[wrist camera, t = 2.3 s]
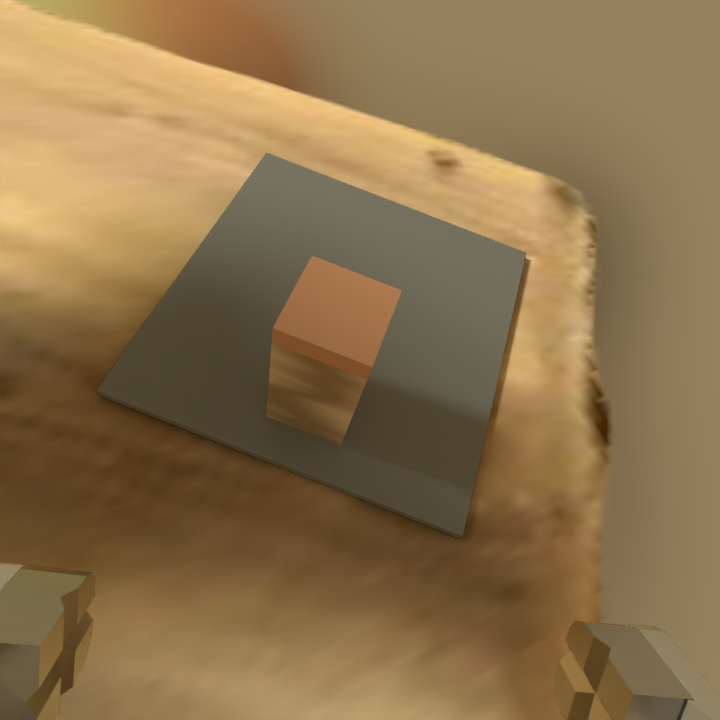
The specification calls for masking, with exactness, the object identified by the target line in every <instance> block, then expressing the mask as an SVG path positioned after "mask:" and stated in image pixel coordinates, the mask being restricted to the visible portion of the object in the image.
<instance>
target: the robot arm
mask: <svg viewBox="0 0 720 720" xmlns="http://www.w3.org/2000/svg"><path fill="white" fill-rule="evenodd" d="M94 593H95V577H94V575H93V574H92V573H89V572H80V571H72V570H64V569H56V568H47V567H39V566H31V565H27V566H25V565H20V564H11V563H1V562H0V720H56V718H57V716H58V714H59V703H60V695H62V694H63V693H65V692H66V691H67V690H69V689H70V688H72V687H73V686H74V684H75V682H76V680H77V678H78V676H79V674H80V672H81V670H82V667H83V664H84V661H85V658H86V655H87V652H88V649H89V644H90V639H91V634H92V623H93V620H92V618H91V617H90V615H89V614H88V613H87V611H86V609H87V608H88V606H89V604H90V603H91V601H92V599H93V597H94ZM566 642H567V644H568V646H569V649H570V652H569V653H567V654H566V655H565V656H564V657H563V658H562V659H561V660H559V662H558V666H557V670H556V674H555V696H556V699H557V703H558V707H559V710H560V712H561V714H562V716H563V718H564V720H720V695H719V694H718V693H717V692H716V691H715V689H714V688H713V687H712V686H711V685H710V684H709V682H708V681H707V680H706V679H705V678H704V677H703V676H702V674H701V673H700V672H699V671H698V670H697V669H696V668H695V666H694V665H693V664H692V663H691V662H690V660H689V659H688V658H687V657H686V656H685V655H684V653H683V652H682V651H681V650H680V649H679V648H678V647H677V646H676V644H675V643H674V642H673V641H672V640H671V638H670V637H669V636H668V635H667V634H666V633H665V632H664V631H662V630H661V629H659V628H657V627H655V626H641V625H628V626H627V625H616V624H606V623H595V622H584V621H575V622H574V623H573V624H572V625H571V627H570V628H569V631H568V634H567V637H566Z"/></svg>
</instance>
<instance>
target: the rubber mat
mask: <svg viewBox="0 0 720 720" xmlns="http://www.w3.org/2000/svg"><path fill="white" fill-rule="evenodd" d="M311 256H315V257H317V258H320V259H322V260H325V261H327V262H330V263H333V264H335V265H338V266H340V267H343V268H345V269H348V270H351V271H353V272H356V273H358V274H361V275H364V276H366V277H369V278H371V279H374V280H376V281H379V282H382V283H384V284H387V285H389V286H392V287H394V288H397V289H400V290H402V292H401V294H400V297H399V300H398V302H397V305H396V307H395V310H394V312H393V315H392V318H391V320H390V323H389V325H388V328H387V331H386V333H385V336H384V338H383V341H382V343H381V346H380V349H379V351H378V354H377V356H376V359H375V362H374V364H373V367H372V369H371V372H370V374H369V377H368V379H367V382H366V384H365V387H364V389H363V392H362V394H361V396H360V399H359V401H358V404H357V406H356V409H355V411H354V414H353V416H352V419H351V421H350V424H349V426H348V429H347V431H346V434H345V436H344V438H343V441H342V443H341V446H340V445H337V444H335V443H332V442H330V441H327V440H325V439H322V438H319V437H317V436H314V435H312V434H309V433H307V432H304V431H302V430H299V429H297V428H294V427H292V426H289V425H287V424H284V423H282V422H279V421H277V420H274V419H271V418H269V417H266V414H267V400H268V386H269V372H270V358H271V344H272V330H273V327H274V325H275V323H276V321H277V319H278V317H279V315H280V314H281V312H282V310H283V308H284V306H285V304H286V302H287V301H288V299H289V297H290V295H291V293H292V291H293V290H294V288H295V286H296V284H297V282H298V280H299V278H300V277H301V275H302V273H303V271H304V269H305V267H306V265H307V264H308V262H309V260H310V258H311ZM525 257H526V253H525V252H523V251H520V250H518V249H515V248H512V247H510V246H507V245H505V244H502V243H500V242H497V241H494V240H492V239H489V238H487V237H484V236H481V235H479V234H476V233H474V232H471V231H468V230H466V229H463V228H461V227H458V226H455V225H453V224H450V223H448V222H445V221H442V220H440V219H437V218H435V217H432V216H429V215H427V214H424V213H422V212H419V211H416V210H414V209H411V208H409V207H406V206H403V205H401V204H398V203H396V202H393V201H390V200H388V199H385V198H383V197H380V196H377V195H375V194H372V193H370V192H367V191H364V190H362V189H359V188H357V187H354V186H351V185H349V184H346V183H344V182H341V181H338V180H336V179H333V178H331V177H328V176H325V175H323V174H320V173H318V172H315V171H313V170H310V169H307V168H305V167H302V166H300V165H297V164H294V163H292V162H289V161H287V160H284V159H281V158H279V157H276V156H274V155H271V154H268V153H266V154H265V155H264V157H263V158H262V160H261V161H260V162H259V164H258V165H257V167H256V168H255V169H254V171H253V172H252V174H251V175H250V176H249V178H248V179H247V181H246V182H245V183H244V185H243V186H242V187H241V189H240V190H239V192H238V193H237V194H236V196H235V197H234V199H233V200H232V201H231V203H230V204H229V206H228V207H227V208H226V210H225V211H224V213H223V214H222V215H221V217H220V218H219V220H218V221H217V222H216V224H215V225H214V227H213V228H212V229H211V231H210V232H209V234H208V235H207V236H206V238H205V239H204V241H203V242H202V243H201V245H200V246H199V247H198V249H197V250H196V252H195V253H194V254H193V256H192V257H191V259H190V260H189V261H188V263H187V264H186V266H185V267H184V268H183V270H182V271H181V273H180V274H179V275H178V277H177V278H176V280H175V281H174V282H173V284H172V285H171V287H170V288H169V289H168V291H167V292H166V294H165V295H164V296H163V298H162V299H161V301H160V302H159V303H158V305H157V306H156V307H155V309H154V310H153V312H152V313H151V314H150V316H149V317H148V319H147V320H146V321H145V323H144V324H143V326H142V327H141V328H140V330H139V331H138V333H137V334H136V335H135V337H134V338H133V340H132V341H131V342H130V344H129V345H128V347H127V348H126V349H125V351H124V352H123V354H122V355H121V356H120V358H119V359H118V361H117V362H116V363H115V365H114V366H113V367H112V369H111V370H110V372H109V373H108V374H107V376H106V377H105V379H104V380H103V381H102V383H101V384H100V386H99V387H98V388H97V390H96V392H97V393H98V395H99V396H102V397H104V398H107V399H109V400H112V401H114V402H117V403H119V404H122V405H124V406H127V407H129V408H132V409H135V410H137V411H140V412H142V413H145V414H147V415H150V416H152V417H155V418H157V419H160V420H162V421H165V422H167V423H170V424H172V425H175V426H177V427H180V428H182V429H185V430H187V431H190V432H192V433H195V434H197V435H200V436H202V437H205V438H207V439H210V440H213V441H215V442H218V443H220V444H223V445H225V446H228V447H230V448H233V449H235V450H238V451H240V452H243V453H245V454H248V455H250V456H253V457H255V458H258V459H260V460H263V461H265V462H268V463H270V464H273V465H275V466H278V467H280V468H283V469H285V470H288V471H291V472H293V473H296V474H298V475H301V476H303V477H306V478H308V479H311V480H313V481H316V482H318V483H321V484H323V485H326V486H328V487H331V488H333V489H336V490H338V491H341V492H343V493H346V494H348V495H351V496H353V497H356V498H358V499H361V500H363V501H366V502H368V503H371V504H374V505H376V506H379V507H381V508H384V509H386V510H389V511H391V512H394V513H396V514H399V515H401V516H404V517H406V518H409V519H411V520H414V521H416V522H419V523H421V524H424V525H426V526H429V527H431V528H434V529H436V530H439V531H441V532H444V533H446V534H449V535H452V536H454V537H457V538H461V537H463V533H464V529H465V525H466V520H467V516H468V511H469V507H470V502H471V498H472V493H473V489H474V484H475V480H476V475H477V471H478V467H479V462H480V458H481V453H482V449H483V444H484V440H485V435H486V431H487V426H488V422H489V417H490V413H491V408H492V404H493V400H494V395H495V391H496V386H497V382H498V377H499V373H500V368H501V364H502V359H503V355H504V350H505V346H506V341H507V337H508V333H509V328H510V324H511V319H512V315H513V310H514V306H515V301H516V297H517V292H518V288H519V283H520V279H521V274H522V270H523V266H524V261H525Z"/></svg>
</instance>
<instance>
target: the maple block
mask: <svg viewBox="0 0 720 720" xmlns="http://www.w3.org/2000/svg"><path fill="white" fill-rule="evenodd" d="M401 292H402V290H400V289H397V288H394V287H392V286H389V285H387V284H384V283H382V282H379V281H376V280H374V279H371V278H369V277H366V276H364V275H361V274H358V273H356V272H353V271H351V270H348V269H345V268H343V267H340V266H338V265H335V264H333V263H330V262H327V261H325V260H322V259H320V258H317V257H315V256H311V258H310V260H309V262H308V264H307V265H306V267H305V269H304V271H303V273H302V275H301V277H300V278H299V280H298V282H297V284H296V286H295V288H294V290H293V291H292V293H291V295H290V297H289V299H288V301H287V302H286V304H285V306H284V308H283V310H282V312H281V314H280V315H279V317H278V319H277V321H276V323H275V325H274V327H273V330H272V344H271V358H270V372H269V386H268V400H267V414H266V417H269V418H271V419H274V420H277V421H279V422H282V423H284V424H287V425H289V426H292V427H294V428H297V429H299V430H302V431H304V432H307V433H309V434H312V435H314V436H317V437H319V438H322V439H325V440H327V441H330V442H332V443H335V444H337V445H340V446H341V443H342V441H343V438H344V436H345V434H346V431H347V429H348V426H349V424H350V421H351V419H352V416H353V414H354V411H355V409H356V406H357V404H358V401H359V399H360V396H361V394H362V392H363V389H364V387H365V384H366V382H367V379H368V377H369V374H370V372H371V369H372V367H373V364H374V362H375V359H376V356H377V354H378V351H379V349H380V346H381V343H382V341H383V338H384V336H385V333H386V331H387V328H388V325H389V323H390V320H391V318H392V315H393V312H394V310H395V307H396V305H397V302H398V300H399V297H400V294H401Z"/></svg>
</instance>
